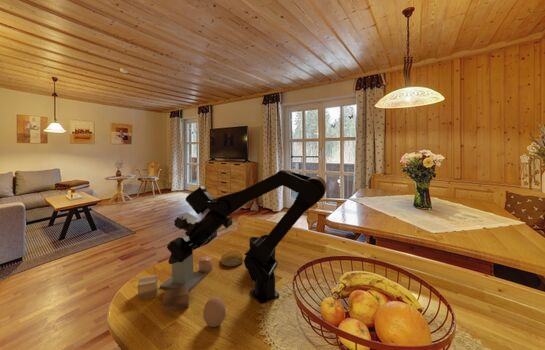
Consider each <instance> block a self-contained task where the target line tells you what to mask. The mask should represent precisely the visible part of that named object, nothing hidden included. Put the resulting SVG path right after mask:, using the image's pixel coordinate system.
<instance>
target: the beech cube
mask: <svg viewBox="0 0 545 350" xmlns="http://www.w3.org/2000/svg"><path fill="white" fill-rule="evenodd" d="M158 290H159V280H158V274H152V275H146V276H141V277H139V281H138V283H137V294H138V295H137V296H138V301H142V300H146V299H152V298H157V296H158V292H159V291H158Z"/></svg>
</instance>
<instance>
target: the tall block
mask: <svg viewBox="0 0 545 350" xmlns="http://www.w3.org/2000/svg"><path fill="white" fill-rule="evenodd" d="M181 237H182V238H183V239H184V240H185V241H186V242H188V241H190V240H189V237H188V236H186V237H185V236H181ZM191 245H192V244H191ZM193 251H194V250H193V248H192V254H191V255H190V256H189V257H188V258H187V259H186V260H184V261H183V262H177V263H174V264H171V274H172V276H171V277H172V278H173V282H176V283H182V284H186V283H187V282H188V281H189V280H190V279H191V278H193V277H194V272H195V271H194V253H193Z"/></svg>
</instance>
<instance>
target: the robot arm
mask: <svg viewBox="0 0 545 350" xmlns="http://www.w3.org/2000/svg"><path fill="white" fill-rule="evenodd" d="M282 186H283V187H286V188H287V189H289V190H291V191H293V192H295V193H297V194H296V197H295V199H294V201H293V203H292V205H291V206H290V207H289V209H288V210H287V211H286V212H285V213H284V215H283V216H282V217H281V218H280V220H279V221H278V222H277V223H276V225H275V226H274V227H273V229H272V230H271V231H270V232H269V234H267V235H268V236H267V237H266V238H265V239H264V240H263V239H262V238H261V237H260V236H258V237H259V238H258V239H257V240H256V241H255V242H254V243H253V244H252V246H251V248H250V247H249V249H248V250H246V252H245V253H244V255H245V256H244V258H243V264H244V267H245V268H246V270H247V272H248V274H249V277H250V280H251V281H253V289H252V290H249V295H251V297H253V298H254V299H255V300H256V301H257V302H258V303H259V304H260V305H263V304H264V303H266V302H268V301H271V299H272V300H273V299H276V298H278V297H280V296H279V295H280V292H278V291H277V290H276V277H275V272H274V271H275V270H276V269H277V266H278V264H279V262H278V261H277V260H276V258H275V259H274V257H273V256H272V253H273V252H274V250H275V251H276V247H277V246H278V245H279V243H280V242H281V241H282V240H283V239H284V238H285V237H286V235H287V234H288V232H290V230H291V229H292V227H293V226H295V224H296V223H297V222H298V220H299V219H300V218H301V217H302V216H303V215H304V213H305V212H307V211H308V210H310V209H311V208H313V207H314V206H315V205H316V204H317V203H318V202H319V201H320V200H322V198H323V197H324V196H325V194H326V192H327V189H328V187H327V186H328V185H327V182H326V181H325V179H323V178H322V177H321V176H311V177H310V176H309V175H305V174H301V173H298V172H294V171H291V170H290V169H285V168H284V169H282V170H278V171H277V172H276V173H274V174H273V175H270V176H268V177H266V178H265V179H262V180H260V181H258V182H256V183H254V184H252V185H250V186H249V187H247V188H244V189H241V190H237V191H233V192H230V193H226V194H224V195H221V196H218V197H215V198H214V197H213V196H212V195H211V193H210V192H208V190H207V188H206V187H205V186H204V185H201V186H198V188H197V189H195V190H194V191H192V192H190V193H188V195H186V197H185V202H186V203H187V204H188V205H189V206H190V207H191V209H193V211H194V212H195V213H196V214H197V215H200V214H201V215H204V216H203V218H201V219H199V218H198V217H197V216H195V215H193V214H191V213H190V212H184V213H181V214H179V215H178V216H177V217H176V219H174V220H173V221H174V224H173V225H174V227H176V228H178V229H179V230H183V231H185V232H184V234H185V235H186V237H188V238H189V240H190V241H188V242H186V241H185V240H184V239H183V238H182V237H183V236H178V237H177V238H176V237H175V238H174V239H172V240H171V241H169V242H168V244H167V245H166V249H167V250H168V251H169V252H170V256H169V258H168V260H167V261H168V264H169V265H172V264H174V263H177V262H183V261H184V260H186V259H187V258H188V257H189V256H190V255H191V254H192V248H193V251H195V250H196V249H199V248H202V247H204V246H206V245H208V244H210V243H211V242H213V241H214V240H215V239H216V238H217V237H218V230H219V229H221V227H222V226H224V228H225V229H228V228H229V227H231V226H233V218H232V216H231V215H232V214H234V213H236V212H237V211H239V210H241V209H242V208H243V207H245V206H246V205H247V204H249V203H250V202H251V201H252V200H255V199H257V198H259V197H261V196H263V195H266V194H267V193H270V192H271V191H274V190H276V189H278V188H280V187H282ZM191 244H192V245H191ZM277 296H278V297H277ZM275 297H276V298H275Z"/></svg>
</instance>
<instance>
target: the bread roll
mask: <svg viewBox="0 0 545 350" xmlns="http://www.w3.org/2000/svg"><path fill="white" fill-rule="evenodd" d="M220 262H221V264H222V265H223V266H226V267H235V266H239V265H240V264H242V263H243V262H244V257H243V254H242V252H241V251H240V250H239V249H235V248H234V249H233V248H232V249H228V250H226V251H225V252H223V253H222V255H221V257H220Z"/></svg>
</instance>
